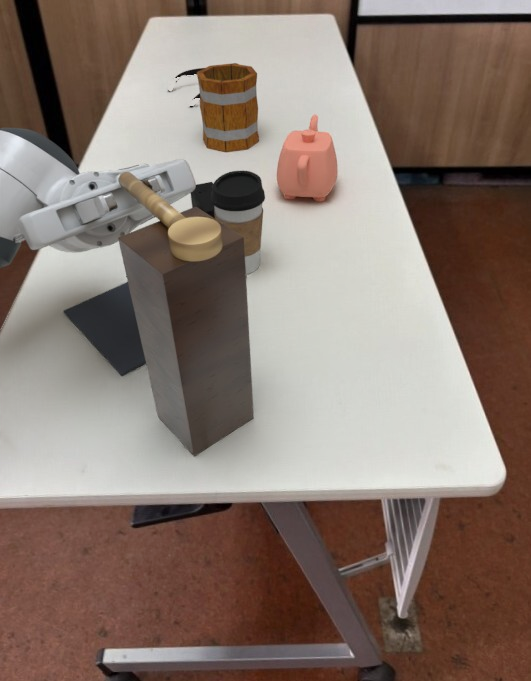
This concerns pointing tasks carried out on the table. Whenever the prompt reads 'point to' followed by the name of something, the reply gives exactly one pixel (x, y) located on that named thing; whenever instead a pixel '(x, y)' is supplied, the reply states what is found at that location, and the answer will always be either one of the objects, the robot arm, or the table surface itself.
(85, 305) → the mat
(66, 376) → the table surface
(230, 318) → the stand
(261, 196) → the coffee cup
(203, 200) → the digital camera
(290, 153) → the teapot
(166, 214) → the spoon
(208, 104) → the wooden barrel
